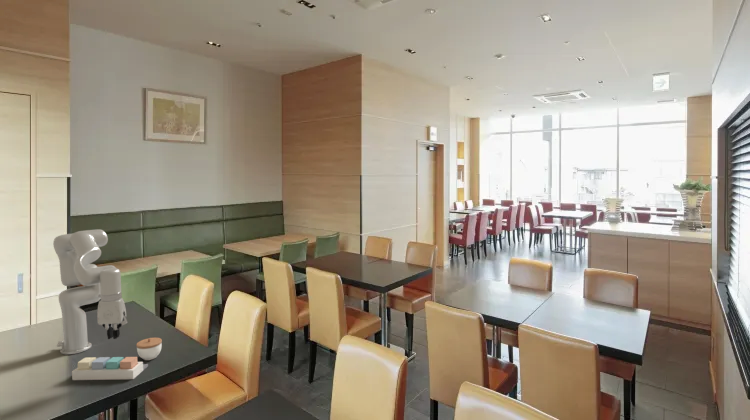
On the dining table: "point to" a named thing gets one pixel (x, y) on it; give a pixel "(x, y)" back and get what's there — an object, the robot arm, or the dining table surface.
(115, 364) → the key
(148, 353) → the lidded jar
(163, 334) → the dining table surface
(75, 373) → the keypad
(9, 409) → the dining table surface
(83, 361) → the key
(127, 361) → the key
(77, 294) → the robot arm
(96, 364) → the key
